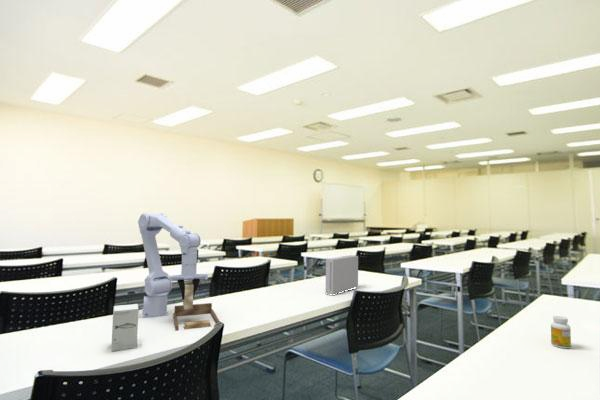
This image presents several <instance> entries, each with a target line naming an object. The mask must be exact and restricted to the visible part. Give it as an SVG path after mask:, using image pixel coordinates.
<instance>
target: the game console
mask: <svg viewBox="0 0 600 400" xmlns="http://www.w3.org/2000/svg"><path fill="white" fill-rule="evenodd" d="M358 286H359V255H343V256H338V257H331V258H325V294H326V293H327V294H332V295H333V294H336V293H339V292H342V291H345V290H348V289H351V288H354V287H357V288H358ZM327 294H326V295H327ZM332 295H331V296H332ZM333 296H334V295H333Z"/></svg>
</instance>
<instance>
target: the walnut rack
mask: <svg viewBox="0 0 600 400" xmlns="http://www.w3.org/2000/svg"><path fill="white" fill-rule="evenodd" d="M212 308H213V303H212V302H209V303H207V302H205V303H196V304H194V303H193V309H184V306H183V304H182V305H174V312H173V315H172V317H173V322H174V323H173V324H174V330H175V331H179V321H178V317H186V316H187V317H188V316H198V315H206V314H207V315H208V314H210V316H211V317H212V320H213V321H214V323H215V324H216V323H218V322H220V323H221V321H220V319H219V318H218V316H217V314H216V312H215V311H214V309H212Z"/></svg>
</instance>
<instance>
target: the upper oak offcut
mask: <svg viewBox="0 0 600 400" xmlns="http://www.w3.org/2000/svg"><path fill="white" fill-rule="evenodd" d="M210 324H211V321H210V320H209V319H204V320H195V321H186V322H185V321H184V326H185V329H186V330H191V329H190V328H195V329H199V328H198V327H203V328H208V327H207V326H210Z"/></svg>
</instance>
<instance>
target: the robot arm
mask: <svg viewBox="0 0 600 400" xmlns="http://www.w3.org/2000/svg"><path fill="white" fill-rule="evenodd" d="M137 224H138V228H139V233H140V234H141V239H142V245H143V251H144V254H145V259H146V262H147V268H148V275H147V276H146V277H145V278H144V292H145V293H146V295H144V296H143V309H142V313H141V314H142V318H143V319H148V318H158V317H167V316H168V314H169V313H168V295H170V292H171V291H172V288H173V282H176V281H177V285H178V286H179V289H180V294H181V300H183V299H184V286H185V283H184V282H185V281H191V282H192V283H193V285H194V287H193V300H194V299H195V295H196V292H197V289H198V287H199V285H200V282H201V280H205V281H206V280H208V278H209V277H208V276H209V275H208V273H197V262H198V260H197V259H198V247H200V245H201V237H200V234H198V233H196V232H195V233H191V231H190V230H187V229H186V228H184V226H183V225H182V224H177V225H175V224H174V223H173V222H171V221H170V220H169V219H168V217H167V215H165V214H164V213H146V212H143V213H141V215H140V216H139V217H138V221H137ZM162 229H164V230H165V231H167V232H169V235H170V237H171V238H172V239H174V240H175V241H176V242H178V245H179V248H180V252H181V269H180V270H181V271H180V272H181V273H180V274H176V275H169V273H167V272H165V271H164V270H163V266H162V260H161V257H160V251H159V248H158V247H159V246H158V243H157V242H158V241H157V239H156V236H157V235H158V234H159V233H160V232H161V231H162Z"/></svg>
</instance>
